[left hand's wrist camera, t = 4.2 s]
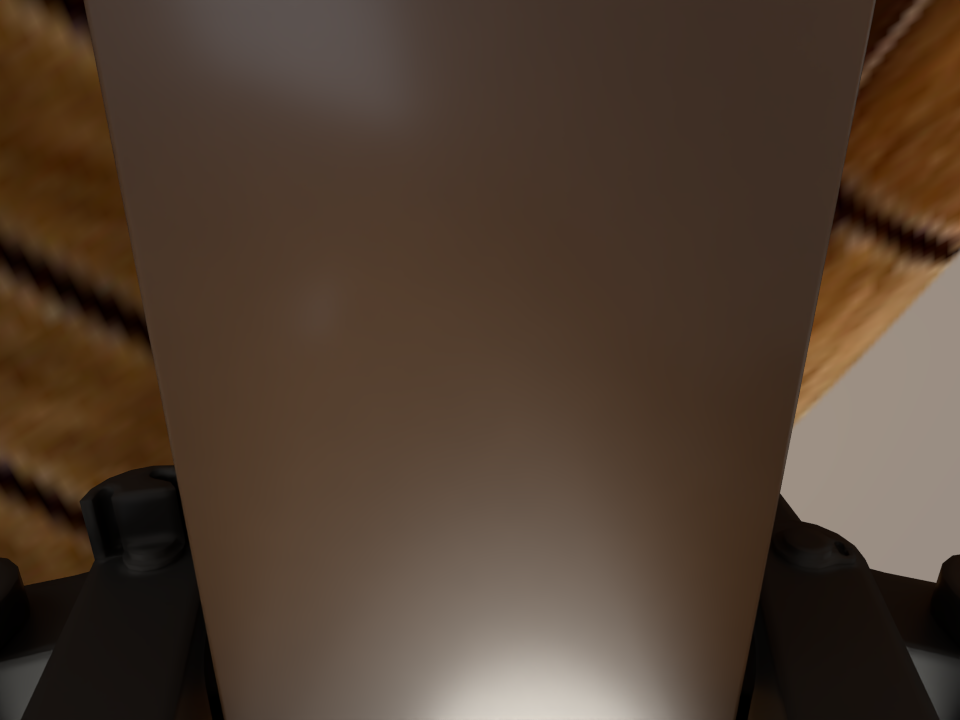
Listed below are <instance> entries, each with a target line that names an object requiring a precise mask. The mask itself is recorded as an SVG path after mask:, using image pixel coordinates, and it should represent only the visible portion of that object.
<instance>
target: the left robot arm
mask: <svg viewBox="0 0 960 720" xmlns="http://www.w3.org/2000/svg"><path fill="white" fill-rule="evenodd" d="M80 505H81V508H82V512H83V516H84V520H85V524H86V528H87V531H88V535H89V539H90V543H91V547H92V551H93V554H94V558H95V561H94V563H93V565H92V567H91V570H90V572H86V573H83V574H79V575H75V576H70V577H65V578H60V579H56V580H51V581H46V582H41V583H36V584H31V585H26V586H24V585H23V582H22V578H21V575H20V572H19V569H18V566H16V565H15V564H14V563H13V562H11V561H10V560H9V559H7V558H0V720H224V718H223V713H222V707H221V702H220V697H219V692H218V687H217V682H216V677H215V671H214V666H213V661H212V656H211V651H210V646H209V641H208V636H207V630H206V625H205V620H204V615H203V610H202V605H201V600H200V594H199V589H198V584H197V579H196V574H195V569H194V564H193V558H192V553H191V548H190V543H189V538H188V533H187V528H186V523H185V517H184V512H183V507H182V502H181V497H180V492H179V487H178V481H177V476H176V471H175V466H174V465H167V466H150V467H145V468H140V469H135V470H130V471H128V472H125V473H122V474H119V475H117V476H114V477H111V478H109V479H107V480H105V481H104V482H102V483H100V484H99V485H97V486H95V487H94V488H92V489H91V490H90V491H89V492H88V493H87V494H86V495H85V496H84V497H83V498H82V499H81V500H80ZM736 720H960V555H953V556H951V557H950V558H949V559H948V560H946V561H945V562H944V563H943V564H942V567H941V570H940V573H939V576H938V580H937V583H934V582H929V581H924V580H919V579H914V578H909V577H904V576H899V575H894V574H889V573H884V572H881V571H877V570H873V569H870V568H869V566H868V564H867V562H866V560H865V558H864V557H863V556H862V554H861V553H860V552H859V551H858V549H857V548H856V547H855V546H854V545H853V544H852V543H850V542H849V541H847V540H846V539H844V538H843V537H841V536H840V535H839V534H837V533H835V532H832V531H830V530H828V529H825V528H823V527H820V526H818V525H815V524H811V523H806V522H802V521H801V520H800V519H799V518H798V516H797V515H796V514H795V512H794V511H793V510H792V508H791V507H790V506H789V504H788V503H787V502H786V501H785V499H784V498H783V497H782V495H781V494H780V495H779V500H778V505H777V510H776V515H775V520H774V526H773V531H772V536H771V541H770V546H769V551H768V556H767V562H766V567H765V572H764V577H763V582H762V587H761V592H760V597H759V603H758V608H757V613H756V618H755V623H754V628H753V633H752V639H751V644H750V649H749V654H748V659H747V664H746V669H745V674H744V680H743V685H742V690H741V695H740V700H739V705H738V710H737V715H736Z"/></svg>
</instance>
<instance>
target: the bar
mask: <svg viewBox="0 0 960 720" xmlns="http://www.w3.org/2000/svg"><path fill="white" fill-rule="evenodd" d="M875 2H876V0H84V4H85V9H86V14H87V19H88V24H89V30H90V35H91V40H92V45H93V50H94V55H95V60H96V66H97V71H98V76H99V81H100V86H101V91H102V96H103V102H104V107H105V112H106V117H107V122H108V127H109V132H110V137H111V143H112V148H113V153H114V158H115V163H116V168H117V173H118V179H119V184H120V189H121V194H122V199H123V204H124V209H125V214H126V220H127V225H128V230H129V235H130V240H131V245H132V250H133V256H134V261H135V266H136V271H137V276H138V281H139V286H140V291H141V297H142V302H143V307H144V312H145V317H146V322H147V327H148V333H149V338H150V343H151V348H152V353H153V358H154V363H155V369H156V374H157V379H158V384H159V389H160V394H161V399H162V404H163V410H164V415H165V420H166V425H167V430H168V435H169V440H170V446H171V451H172V456H173V461H174V466H175V471H176V476H177V481H178V487H179V492H180V497H181V502H182V507H183V512H184V517H185V523H186V528H187V533H188V538H189V543H190V548H191V553H192V558H193V564H194V569H195V574H196V579H197V584H198V589H199V594H200V600H201V605H202V610H203V615H204V620H205V625H206V630H207V636H208V641H209V646H210V651H211V656H212V661H213V666H214V671H215V677H216V682H217V687H218V692H219V697H220V702H221V707H222V713H223V718H224V720H736V715H737V710H738V705H739V700H740V695H741V690H742V685H743V680H744V674H745V669H746V664H747V659H748V654H749V649H750V644H751V639H752V633H753V628H754V623H755V618H756V613H757V608H758V603H759V597H760V592H761V587H762V582H763V577H764V572H765V567H766V562H767V556H768V551H769V546H770V541H771V536H772V531H773V526H774V520H775V515H776V510H777V505H778V500H779V495H780V490H781V485H782V479H783V474H784V469H785V464H786V459H787V454H788V449H789V443H790V438H791V433H792V428H793V423H794V418H795V413H796V408H797V402H798V397H799V392H800V387H801V382H802V377H803V372H804V367H805V361H806V356H807V351H808V346H809V341H810V336H811V331H812V325H813V320H814V315H815V310H816V305H817V300H818V295H819V290H820V284H821V279H822V274H823V269H824V264H825V259H826V254H827V248H828V243H829V238H830V233H831V228H832V223H833V218H834V213H835V207H836V202H837V197H838V192H839V187H840V182H841V177H842V172H843V166H844V161H845V156H846V151H847V146H848V141H849V136H850V130H851V125H852V120H853V115H854V110H855V105H856V100H857V95H858V89H859V84H860V79H861V74H862V69H863V64H864V59H865V53H866V48H867V43H868V38H869V33H870V28H871V23H872V18H873V12H874V7H875Z"/></svg>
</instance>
